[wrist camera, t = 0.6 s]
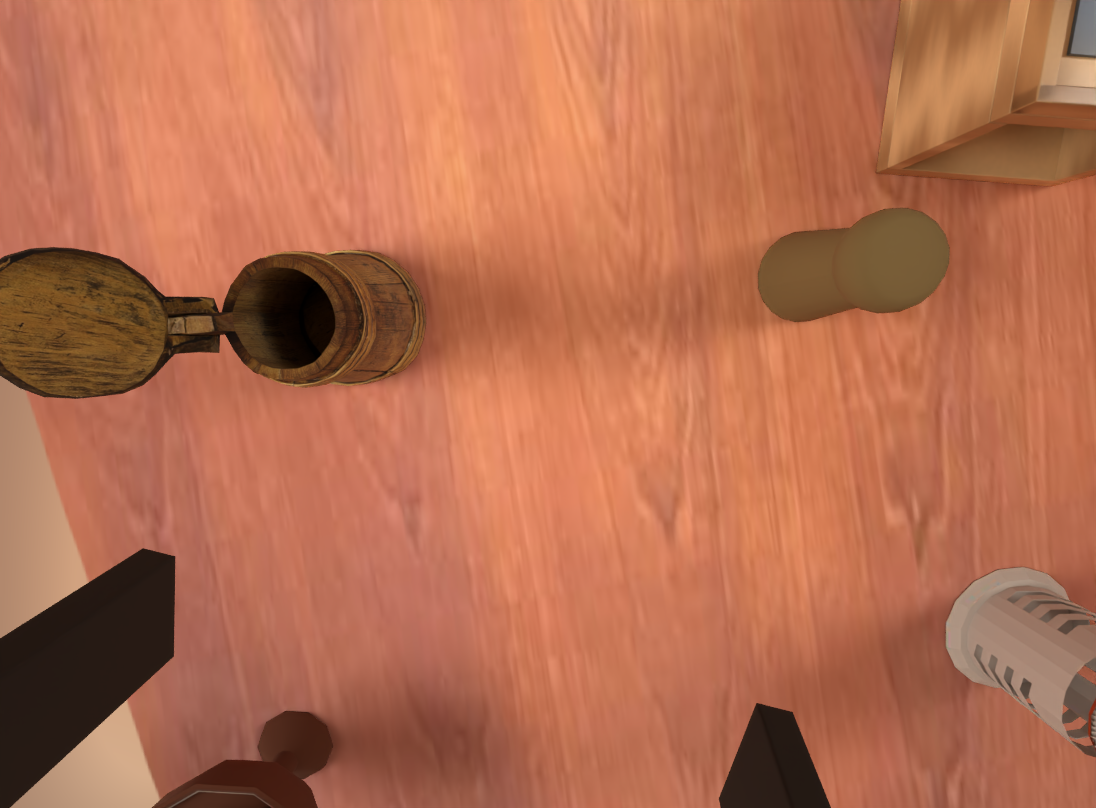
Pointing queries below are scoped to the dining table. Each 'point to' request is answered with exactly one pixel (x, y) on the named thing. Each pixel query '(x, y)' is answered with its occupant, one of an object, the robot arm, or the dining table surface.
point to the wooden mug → (204, 321)
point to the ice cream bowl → (263, 770)
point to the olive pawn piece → (855, 266)
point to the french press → (1028, 646)
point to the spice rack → (992, 91)
